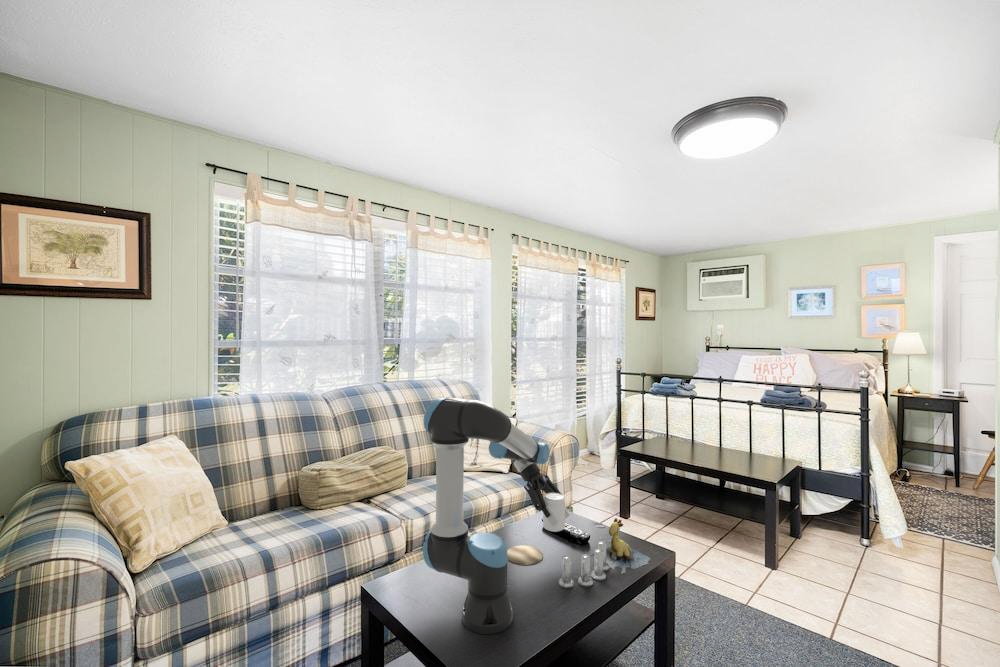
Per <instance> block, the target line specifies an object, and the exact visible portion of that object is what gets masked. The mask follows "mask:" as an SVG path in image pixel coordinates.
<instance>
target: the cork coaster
mask: <svg viewBox="0 0 1000 667" xmlns="http://www.w3.org/2000/svg"><path fill="white" fill-rule="evenodd" d="M507 555H508V561H509V562H511V563H513V564H516V565H520V566H529V565H530V566H531V565H534V564H537V563H539V562H541V561H542V559H543V552H542V551H541V550H540V549H539V548H537V547H536V546H535V547H534V546H531V545H515V546H512V547H510V548H507Z"/></svg>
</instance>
